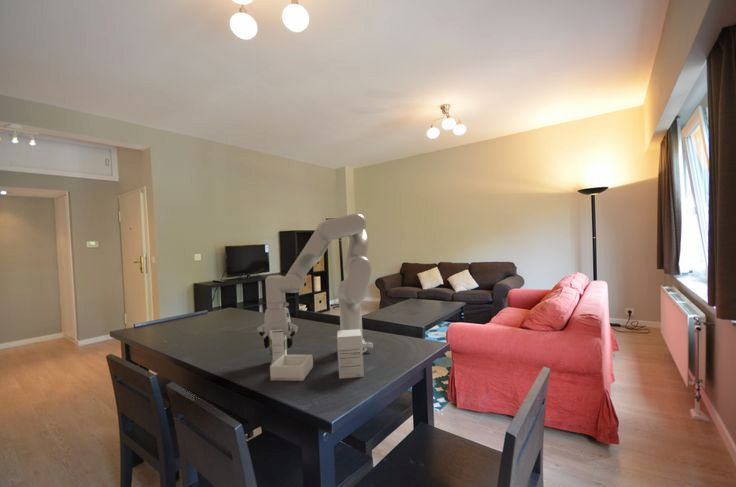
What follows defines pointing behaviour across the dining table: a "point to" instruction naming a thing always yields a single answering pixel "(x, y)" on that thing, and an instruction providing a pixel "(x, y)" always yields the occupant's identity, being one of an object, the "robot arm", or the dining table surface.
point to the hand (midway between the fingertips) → (278, 347)
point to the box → (291, 367)
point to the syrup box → (277, 344)
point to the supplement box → (350, 353)
